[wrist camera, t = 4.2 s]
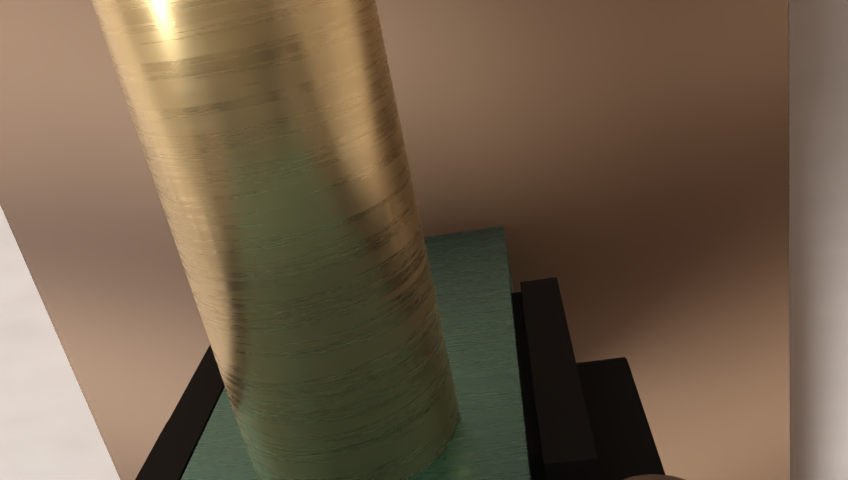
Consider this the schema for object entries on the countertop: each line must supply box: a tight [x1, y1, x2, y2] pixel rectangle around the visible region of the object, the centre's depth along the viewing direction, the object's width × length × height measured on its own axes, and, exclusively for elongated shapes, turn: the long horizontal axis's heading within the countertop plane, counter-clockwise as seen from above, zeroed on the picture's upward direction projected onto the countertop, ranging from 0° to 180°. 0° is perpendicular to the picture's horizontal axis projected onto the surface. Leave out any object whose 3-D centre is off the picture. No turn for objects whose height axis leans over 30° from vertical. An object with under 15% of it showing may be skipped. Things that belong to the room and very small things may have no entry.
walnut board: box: [0, 0, 790, 480], centre depth 13 cm, size 31×12×1 cm, turn 11°
